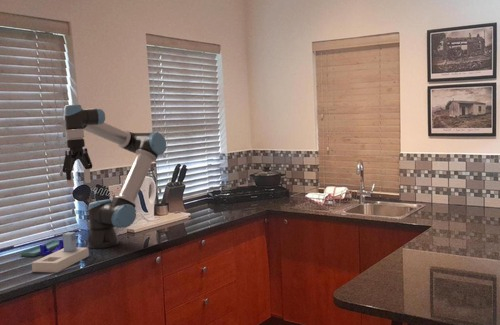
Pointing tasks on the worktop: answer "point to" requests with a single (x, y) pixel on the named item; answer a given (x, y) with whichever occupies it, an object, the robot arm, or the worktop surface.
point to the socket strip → (59, 260)
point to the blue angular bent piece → (46, 252)
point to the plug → (69, 242)
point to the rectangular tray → (36, 250)
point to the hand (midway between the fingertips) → (79, 185)
